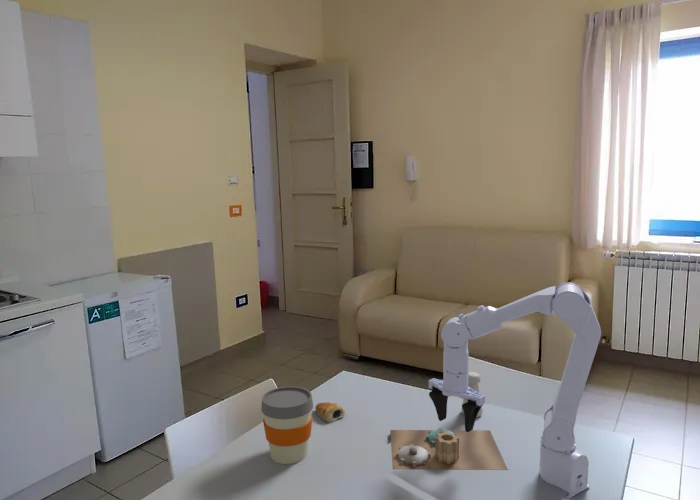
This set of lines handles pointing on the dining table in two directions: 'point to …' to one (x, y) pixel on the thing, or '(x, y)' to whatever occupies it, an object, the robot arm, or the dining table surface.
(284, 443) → the reusable coffee cup
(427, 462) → the gear board
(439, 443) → the wooden gear
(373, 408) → the dining table surface
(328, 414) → the pastry
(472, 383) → the salt shaker
